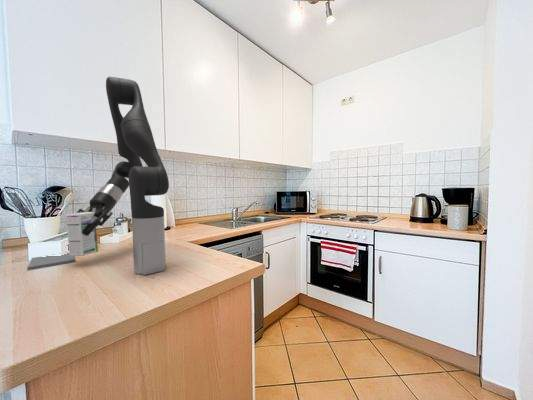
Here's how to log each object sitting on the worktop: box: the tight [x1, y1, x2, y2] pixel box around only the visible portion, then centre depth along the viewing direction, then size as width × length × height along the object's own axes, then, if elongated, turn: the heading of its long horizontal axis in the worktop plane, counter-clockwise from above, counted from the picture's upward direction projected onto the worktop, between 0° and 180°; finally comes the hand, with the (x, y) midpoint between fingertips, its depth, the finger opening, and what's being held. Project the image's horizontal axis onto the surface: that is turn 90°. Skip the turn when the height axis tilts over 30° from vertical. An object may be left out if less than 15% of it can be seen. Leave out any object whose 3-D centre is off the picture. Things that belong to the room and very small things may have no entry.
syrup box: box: [65, 212, 99, 257], centre depth 79 cm, size 6×6×14 cm
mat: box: [27, 252, 76, 271], centre depth 84 cm, size 14×12×1 cm
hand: (77, 234), depth 78 cm, fingers closed on syrup box, 6 cm apart
